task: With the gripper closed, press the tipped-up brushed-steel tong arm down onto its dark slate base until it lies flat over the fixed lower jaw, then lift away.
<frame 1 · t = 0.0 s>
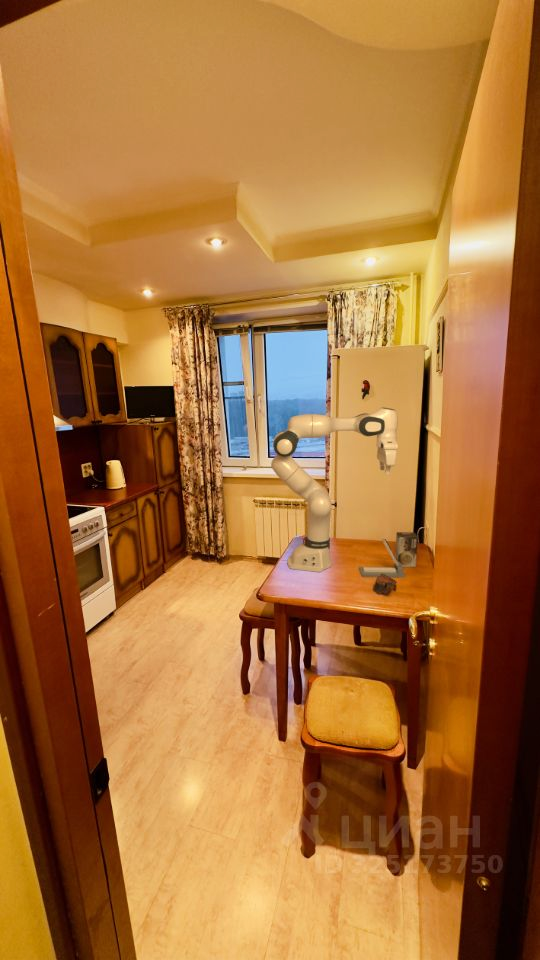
hand: (384, 472, 172), 48 cm above the table, fingers open, 8 cm apart
coffee box: (404, 564, 183), on the table
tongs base: (381, 573, 174), on the table
pottery mug: (384, 592, 158), on the table
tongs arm: (391, 554, 171), point 10 cm above the table, hinge at 60.0°
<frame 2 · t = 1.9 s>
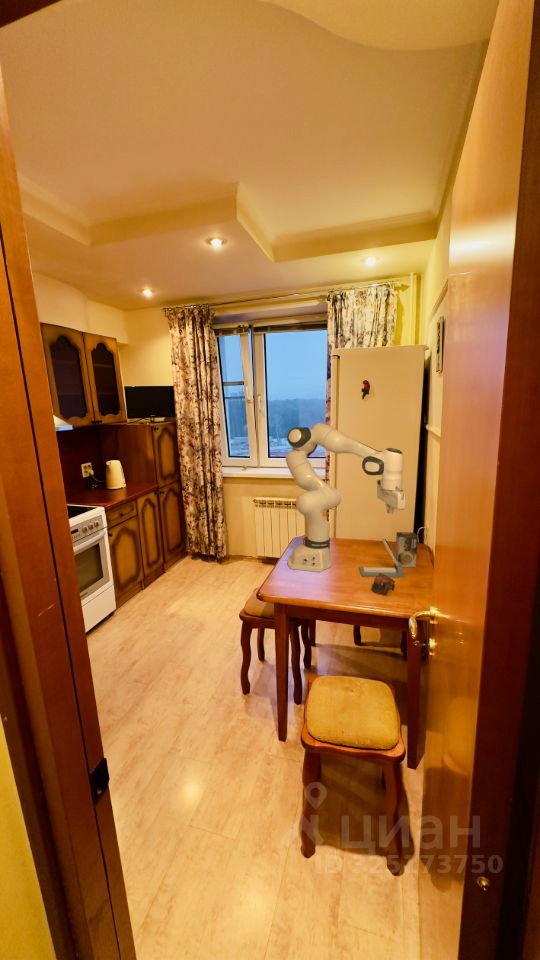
hand: (389, 513, 167), 30 cm above the table, fingers closed
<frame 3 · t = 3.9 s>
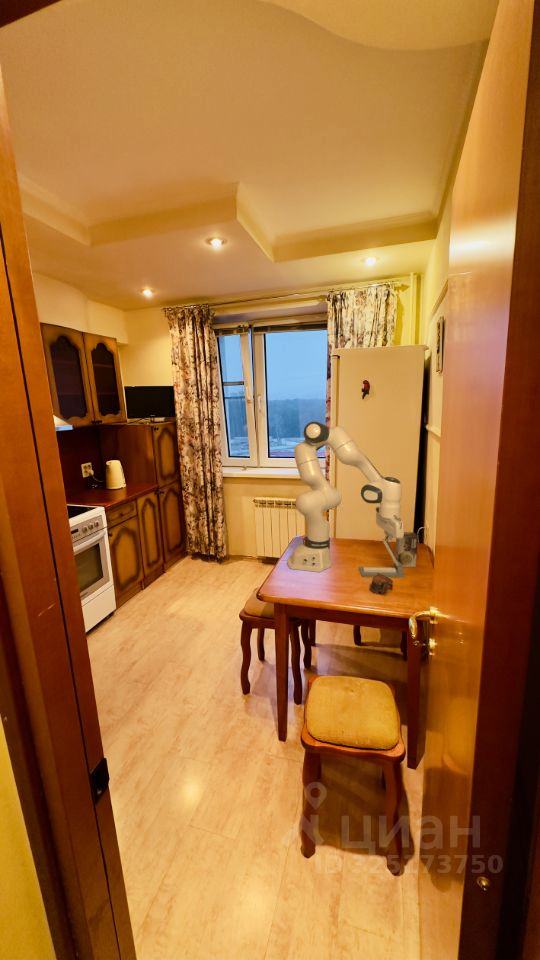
hand: (388, 540, 170), 17 cm above the table, fingers closed
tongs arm: (391, 554, 171), point 10 cm above the table, hinge at 60.2°, touching gripper
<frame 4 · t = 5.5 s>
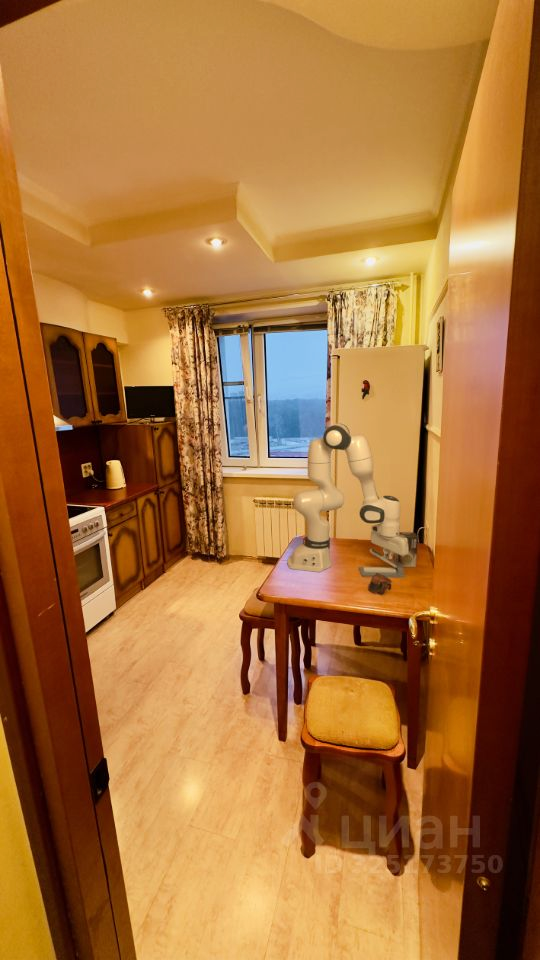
hand: (388, 557, 172), 8 cm above the table, fingers closed
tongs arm: (385, 559, 172), point 7 cm above the table, hinge at 31.4°, touching gripper
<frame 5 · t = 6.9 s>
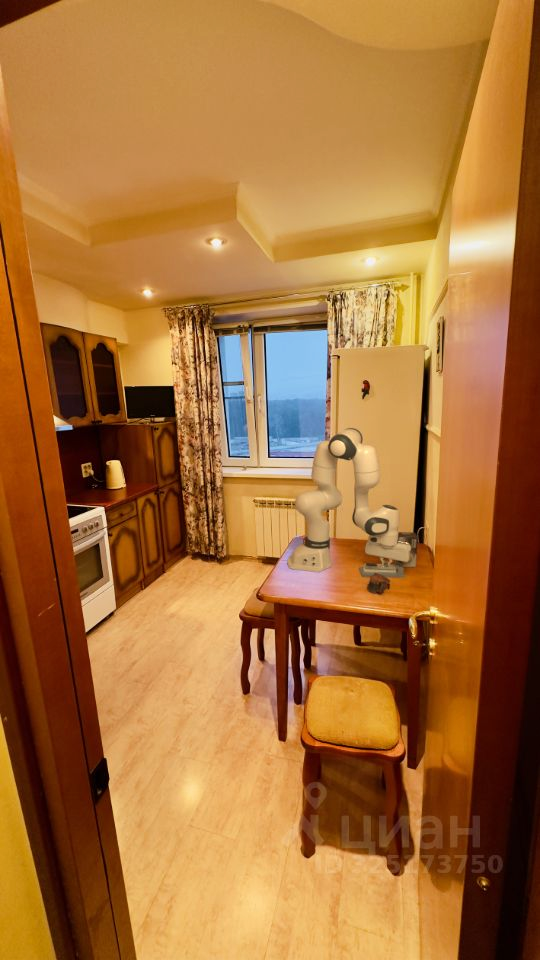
hand: (386, 565, 173), 4 cm above the table, fingers closed, pressing on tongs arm
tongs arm: (382, 566, 173), point 4 cm above the table, hinge at 1.8°, touching gripper
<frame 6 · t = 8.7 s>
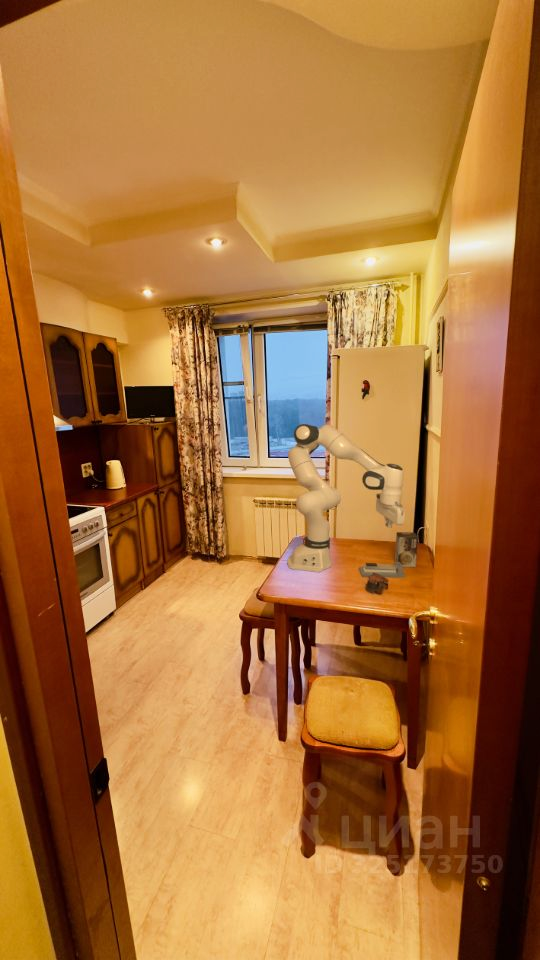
hand: (388, 526, 171), 23 cm above the table, fingers closed
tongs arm: (382, 566, 173), point 4 cm above the table, hinge at 1.7°
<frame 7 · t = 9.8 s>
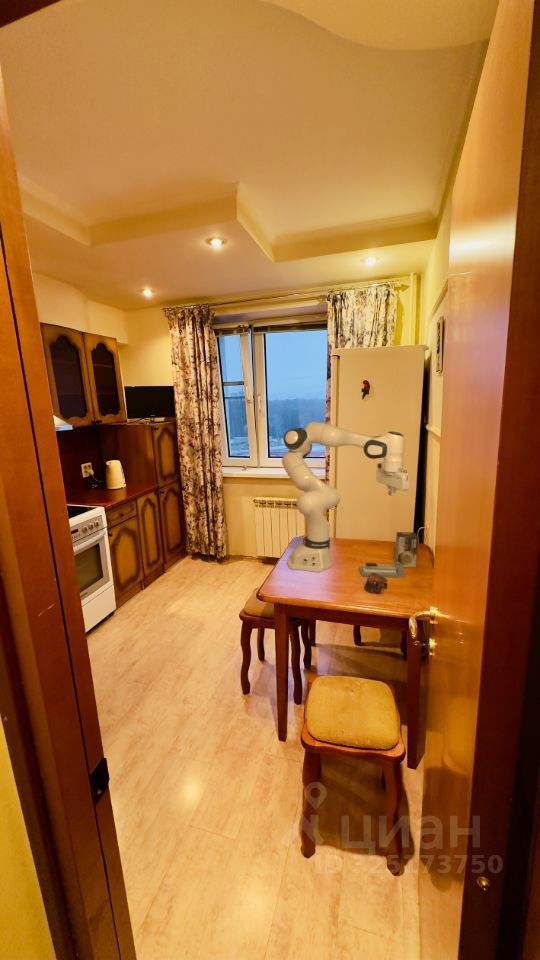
hand: (391, 495, 172), 37 cm above the table, fingers closed
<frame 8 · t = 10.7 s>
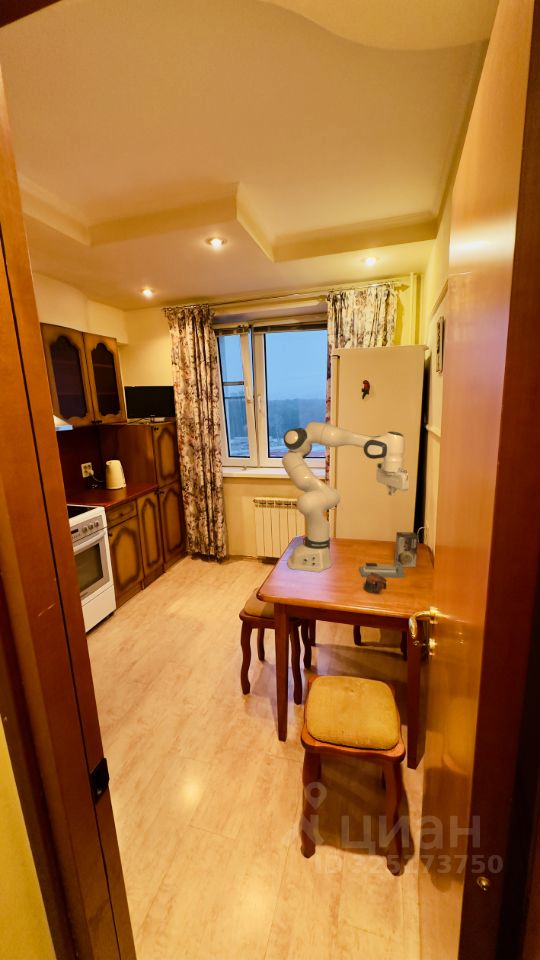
hand: (391, 495, 172), 37 cm above the table, fingers closed
at the end: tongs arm at +2° (first picture: +60°); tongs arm touching nothing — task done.
